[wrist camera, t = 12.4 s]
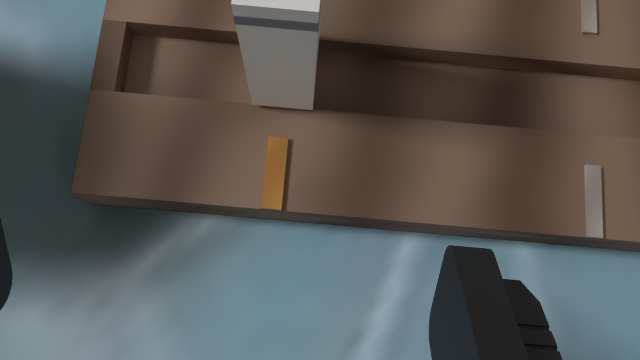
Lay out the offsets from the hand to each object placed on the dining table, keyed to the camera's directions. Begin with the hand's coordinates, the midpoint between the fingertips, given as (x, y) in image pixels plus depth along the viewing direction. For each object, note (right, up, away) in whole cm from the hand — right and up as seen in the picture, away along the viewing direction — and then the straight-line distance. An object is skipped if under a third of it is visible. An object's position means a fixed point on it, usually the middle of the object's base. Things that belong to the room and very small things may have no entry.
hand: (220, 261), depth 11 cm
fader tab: (0, +6, +16) cm, 17 cm away
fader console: (+5, +5, +17) cm, 18 cm away
